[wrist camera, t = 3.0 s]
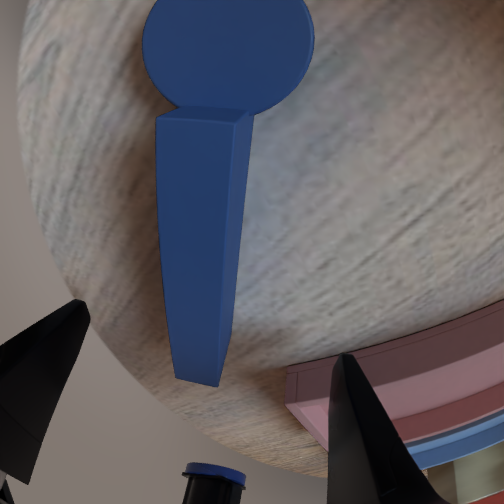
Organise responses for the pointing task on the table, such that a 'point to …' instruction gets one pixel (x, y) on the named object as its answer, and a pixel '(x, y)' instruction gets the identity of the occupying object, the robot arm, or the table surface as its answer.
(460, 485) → the wooden rectangular block
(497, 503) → the red spoon
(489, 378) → the rose tray
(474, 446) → the blue tray
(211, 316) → the blue paddle
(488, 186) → the table surface
